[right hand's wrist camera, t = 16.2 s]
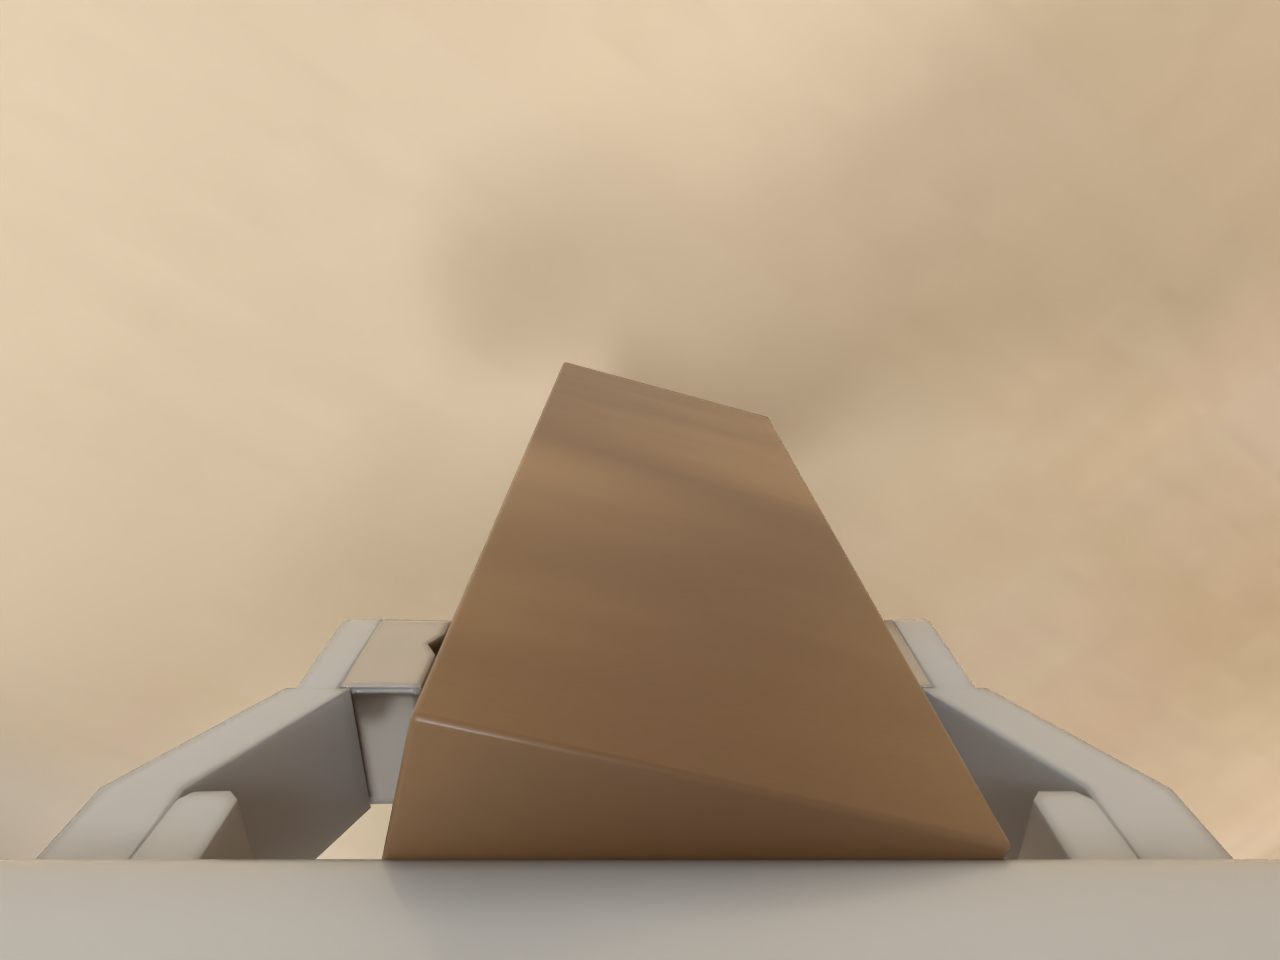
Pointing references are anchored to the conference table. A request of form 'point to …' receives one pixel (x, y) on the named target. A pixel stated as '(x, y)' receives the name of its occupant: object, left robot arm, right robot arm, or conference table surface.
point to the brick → (673, 664)
